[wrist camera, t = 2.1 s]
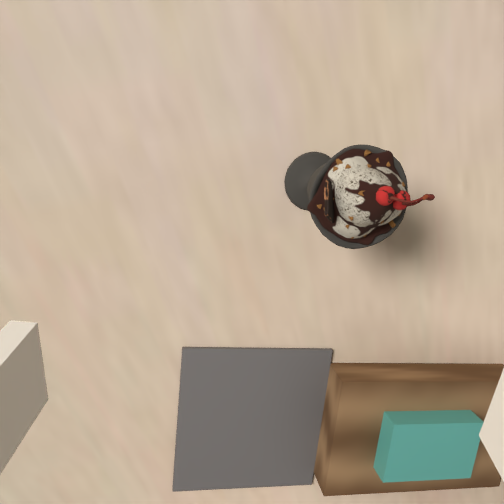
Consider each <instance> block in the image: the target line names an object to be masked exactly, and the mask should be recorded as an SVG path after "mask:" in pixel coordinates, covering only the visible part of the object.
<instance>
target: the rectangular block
mask: <svg viewBox="0 0 504 504" xmlns="http://www.w3.org/2000/svg"><path fill="white" fill-rule="evenodd" d="M483 423H484V422H483V421H482V420H481V419H480V418H479V417H478V416H477V415H476V414H475V413H474V412H472V411H471V410H437V411H384V414H383V419H382V425H381V430H380V435H379V440H378V445H377V451H376V456H375V461H374V466H373V468H374V469H375V471H376V472H377V474H378V476H379V477H380V479H381V481H382V482H383V483H385V482H405V481H425V480H444V479H464V478H471V474H472V470H473V466H474V462H475V458H476V454H477V450H478V446H479V442H480V437H479V433H480V431H481V428H482V425H483Z"/></svg>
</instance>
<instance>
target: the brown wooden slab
mask: <svg viewBox="0 0 504 504" xmlns="http://www.w3.org/2000/svg"><path fill="white" fill-rule="evenodd" d="M503 368H504V365H503V364H423V363H331V364H330V371H329V377H328V383H327V390H326V396H325V403H324V409H323V415H322V422H321V428H320V434H319V441H318V447H317V454H316V460H315V466H314V474H315V476H316V479H317V481H318V483H319V486H320V488H321V490H322V493H323V495H324V496H335V495H353V494H371V493H389V492H407V491H425V490H443V489H461V488H479V487H496V486H499V485H500V481H501V476H500V474H499V472H498V470H497V469H496V467H495V465H494V463H493V461H492V459H491V457H490V456H489V454H488V452H487V450H486V448H485V446H484V444H483V442H482V441H481V439H480V442H479V446H478V450H477V454H476V458H475V462H474V466H473V470H472V474H471V478H464V479H444V480H425V481H405V482H385V483H383V482H382V481H381V479H380V477H379V476H378V474H377V472H376V471H375V469H374V468H373V466H374V461H375V456H376V451H377V445H378V440H379V435H380V430H381V425H382V419H383V414H384V411H437V410H471V411H472V412H474V413H475V414H476V415H477V416H478V417H479V418H480V419H481V420H482V421H483V422H484V420H485V417H486V414H487V412H488V409H489V406H490V404H491V401H492V398H493V395H494V393H495V390H496V387H497V385H498V382H499V379H500V377H501V374H502V371H503Z"/></svg>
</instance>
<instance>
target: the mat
mask: <svg viewBox="0 0 504 504" xmlns="http://www.w3.org/2000/svg"><path fill="white" fill-rule="evenodd" d="M332 351H333V350H332V349H318V348H232V347H183V348H182V362H181V376H180V391H179V405H178V419H177V434H176V448H175V462H174V476H173V491H193V490H212V489H232V488H252V487H272V486H292V485H312V479H313V473H314V466H315V460H316V454H317V447H318V441H319V434H320V428H321V422H322V415H323V409H324V403H325V396H326V390H327V383H328V377H329V371H330V364H331V358H332Z"/></svg>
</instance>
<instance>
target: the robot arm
mask: <svg viewBox="0 0 504 504" xmlns="http://www.w3.org/2000/svg"><path fill="white" fill-rule="evenodd" d="M47 400H48V394H47V387H46V380H45V373H44V366H43V358H42V351H41V344H40V337H39V330H38V323H37V322H25V321H13V320H10V321H9V322H8V323H7V324H6V325H5V326H4V327H3V328H2V329H1V330H0V474H1V473H2V471H3V469H4V468H5V466H6V465H7V463H8V462H9V460H10V458H11V457H12V455H13V454H14V452H15V451H16V449H17V447H18V446H19V444H20V443H21V441H22V440H23V438H24V436H25V435H26V433H27V432H28V430H29V429H30V427H31V425H32V424H33V422H34V421H35V419H36V418H37V416H38V414H39V413H40V411H41V410H42V408H43V407H44V405H45V403H46V402H47ZM479 437H480V439H481V441H482V442H483V444H484V446H485V448H486V450H487V452H488V454H489V456H490V457H491V459H492V461H493V463H494V465H495V467H496V469H497V470H498V472H499V474H500V476H501V478H502V480H503V482H504V368H503V371H502V374H501V377H500V379H499V382H498V385H497V387H496V390H495V393H494V395H493V398H492V401H491V404H490V406H489V409H488V412H487V414H486V417H485V420H484V423H483V425H482V428H481V431H480V433H479Z"/></svg>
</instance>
